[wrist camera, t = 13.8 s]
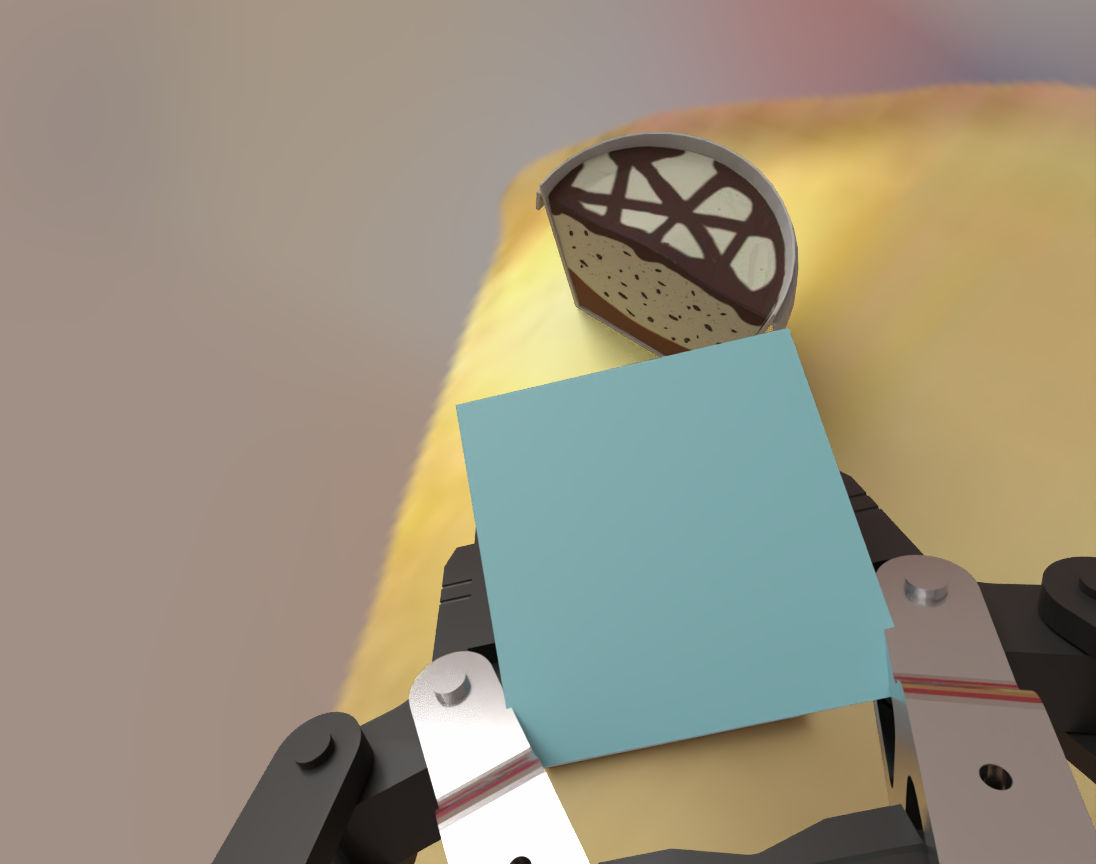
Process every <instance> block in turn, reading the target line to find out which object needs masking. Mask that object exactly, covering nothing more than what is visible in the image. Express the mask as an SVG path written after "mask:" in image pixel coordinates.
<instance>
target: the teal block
mask: <svg viewBox="0 0 1096 864" xmlns="http://www.w3.org/2000/svg"><path fill="white" fill-rule="evenodd" d="M456 410H457V416H458V422H459V428H460V434H461V440H462V446H463V452H464V458H465V464H466V470H467V476H468V482H469V488H470V494H471V500H472V506H473V512H474V518H475V524H476V530H477V536H478V542H479V548H480V554H481V560H482V566H483V572H484V578H485V584H486V590H487V596H488V602H489V608H490V614H491V620H492V626H493V632H494V638H495V644H496V650H497V656H498V662H499V668H500V674H501V680H502V686H503V692H504V698H505V704H506V709H509V708H512V709H513V711H514V714H515V716H516V718H517V720H518V722H519V724H520V726H521V728H522V730H523V732H524V735H525V737H526V739H527V741H528V743H529V745H530V747H531V749H532V751H533V753H534V755H537V757H538V758H539V760H540V762H541V764H542V766H543V767H545V766H550V765H555V764H560V763H564V762H569V761H574V760H579V759H584V758H589V757H594V756H599V755H604V754H609V753H614V752H619V751H624V750H629V749H634V748H639V747H644V746H649V745H654V744H659V743H664V742H669V741H674V740H679V739H684V738H689V737H694V736H699V735H704V734H709V733H714V732H719V731H723V730H728V729H733V728H738V727H743V726H748V725H753V724H758V723H763V722H768V721H773V720H778V719H783V718H788V717H793V716H798V715H803V714H808V713H813V712H818V711H823V710H828V709H833V708H838V707H843V706H848V705H853V704H858V703H863V702H868V701H873V700H877V699H882V698H887V697H891V693H890V687H889V678H888V667H887V657H886V646H885V635H884V629H887V628H892V627H894V624H893V621H892V618H891V616H890V613H889V610H888V607H887V604H886V601H885V599H884V596H883V593H882V590H881V587H880V585H879V582H878V579H877V576H876V573H875V570H874V568H873V565H872V562H871V559H870V556H869V553H868V551H867V548H866V545H865V542H864V539H863V537H862V534H861V531H860V528H859V525H858V522H857V520H856V517H855V514H854V511H853V508H852V506H851V503H850V500H849V497H848V494H847V491H846V489H845V486H844V483H843V480H842V477H841V474H840V472H839V469H838V466H837V463H836V460H835V458H834V455H833V452H832V449H831V446H830V443H829V441H828V438H827V435H826V432H825V429H824V427H823V424H822V421H821V418H820V415H819V412H818V410H817V407H816V404H815V401H814V398H813V395H812V393H811V390H810V387H809V384H808V381H807V379H806V376H805V373H804V370H803V367H802V364H801V362H800V359H799V356H798V353H797V350H796V347H795V345H794V342H793V339H792V336H791V333H790V331H789V328H786V329H781V330H777V331H773V332H768V333H764V334H760V335H756V336H751V337H747V338H743V339H738V340H734V341H730V342H725V343H721V344H717V345H713V346H708V347H704V348H700V349H695V350H691V351H687V352H682V353H678V354H674V355H670V356H665V357H661V358H657V359H652V360H648V361H644V362H639V363H635V364H631V365H627V366H622V367H618V368H614V369H609V370H605V371H601V372H596V373H592V374H588V375H584V376H579V377H575V378H571V379H566V380H562V381H558V382H553V383H549V384H545V385H540V386H536V387H532V388H528V389H523V390H519V391H515V392H510V393H506V394H502V395H497V396H493V397H489V398H485V399H480V400H476V401H472V402H467V403H463V404H459V405H456Z"/></svg>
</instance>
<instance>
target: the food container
mask: <svg viewBox="0 0 1096 864" xmlns="http://www.w3.org/2000/svg"><path fill="white" fill-rule="evenodd" d="M544 205H545V208H546V212H547V215H548V218H549V221H550V225H551V228H552V231H553V234H554V238H555V241H556V244H557V247H558V251H559V254H560V257H561V260H562V263H563V267H564V270H565V273H566V276H567V280H568V283H569V286H570V289H571V293H572V296H573V299H574V302H575V306H576V307H578V308H579V309H581V310H583V311H584V312H586V313H588V314H589V315H591V316H593V317H594V318H596V319H597V320H599V321H601V322H602V323H604V324H606V325H607V326H609V327H611V328H612V329H614V330H616V331H617V332H619V333H621V334H622V335H624V336H626V337H627V338H629V339H631V340H632V341H634V342H636V343H637V344H639V345H641V346H642V347H644V348H646V349H647V350H649V351H651V352H652V353H654V354H656V355H657V356H659V357H660V358H661V357H665V356H670V355H674V354H678V353H682V352H687V351H691V350H695V349H700V348H704V347H708V346H713V345H717V344H721V343H725V342H730V341H734V340H738V339H743V338H747V337H751V336H756V335H760V334H764V332H765V331H766V330H767V329H768V327H769V326H770V325H772V326H773V331H777V330H781V329H785V327H786V325H787V323H788V320H789V317H790V314H791V311H792V308H793V305H794V299H795V292H796V286H797V276H798V246H797V241H796V237H795V232H794V227H793V225H792V222H791V219H790V217H789V214H788V212H787V210H786V207H785V205H784V202H783V200H782V199H781V197H780V196H779V194H778V192H777V191H776V189H775V188H774V186H773V185H772V183H771V182H770V181H769V180H768V179H767V178H766V177H765V176H764V175H763V174H762V172H761V171H760V170H759V169H758V168H756V167H755V166H754V165H753V164H751V163H750V162H749V161H748V160H746V159H745V158H744V157H742V156H741V155H739V154H737V153H735V152H734V151H732V150H730V149H728V148H727V147H725V146H722V145H720V144H717V143H715V142H712V141H710V140H707V139H704V138H700V137H696V136H692V135H688V134H681V133H672V132H642V133H635V134H629V135H623V136H619V137H616V138H612V139H609V140H605V141H602V142H600V143H598V144H595V145H593V146H591V147H588V148H586V149H584V150H582V151H581V152H579V153H577V154H576V155H574V156H572V157H570V158H569V159H567V160H566V161H565V162H563V163H562V164H561V165H560V166H558V167H557V168H556V169H555V170H553V171H552V172H551V173H550V174H549V175H548V176H547V177H546V178H545V180H544V181H543V182H542V183H541V184H540V189H539V190H538V191H537V197H536V209H537V210H540V209H541V208H542V207H543V206H544Z"/></svg>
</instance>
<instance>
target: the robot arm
mask: <svg viewBox="0 0 1096 864" xmlns="http://www.w3.org/2000/svg"><path fill="white" fill-rule="evenodd" d="M839 472H840V471H839ZM840 474H841V477H842V480H843V483H844V486H845V489H846V491H847V494H848V497H849V500H850V503H851V506H852V508H853V511H854V514H855V517H856V520H857V522H858V525H859V528H860V531H861V534H862V537H863V539H864V542H865V545H866V548H867V551H868V553H869V556H870V559H871V562H872V565H873V568H874V570H875V573H876V576H877V579H878V582H879V585H880V587H881V590H882V593H883V596H884V599H885V601H886V604H887V607H888V610H889V613H890V616H891V618H892V621H893V624H894V627H892V628H887V629H884V635H885V646H886V657H887V667H888V678H889V687H890V693H891V697H887V698H882V699H877V700H873V703H874V709H875V716H876V722H877V728H878V735H879V741H880V747H881V754H882V760H883V766H884V772H885V779H886V785H887V791H888V798H889V805H890V806H888V807H883V808H877V809H872V810H867V811H862V812H857V813H852V814H847V815H842V816H836V817H831V818H826V819H824V820H822V821H820V822H818V823H816V824H814V825H812V826H810V827H809V828H807V829H805V830H803V831H801V832H799V833H797V834H795V835H793V836H791V837H790V838H788V839H786V840H784V841H782V842H780V843H778V844H776V845H774V846H772V847H770V848H769V849H767V850H765V851H763V852H760V853H758V854H753V855H742V854H730V853H718V852H705V851H693V850H681V849H667V850H662V851H657V852H652V853H647V854H641V855H636V856H631V857H626V858H621V859H616V860H611V861H606V862H600V863H598V864H1096V830H1095V828H1094V825H1093V823H1092V821H1091V818H1090V816H1089V813H1088V811H1087V808H1086V806H1085V804H1084V801H1083V799H1082V796H1081V794H1080V792H1079V789H1078V787H1077V784H1076V782H1075V779H1074V777H1073V775H1072V772H1071V770H1070V767H1069V765H1068V762H1067V760H1068V761H1069V762H1070V763H1071V764H1073V765H1074V766H1075V767H1076V768H1077V769H1079V770H1080V771H1081V772H1082V773H1083V774H1085V775H1086V776H1087V777H1088V778H1089V779H1090V780H1092V781H1093V782H1094V783H1095V784H1096V557H1071V558H1066V559H1062V560H1059V561H1056V562H1054V563H1052V564H1051V565H1049V566H1048V567H1047V568H1046V570H1045V571H1044V573H1043V578H1042V584H1041V585H1024V584H992V583H982V582H976V580H975V579H974V578H973V577H972V575H971V574H969V573H968V572H967V571H966V570H964V569H963V568H961V567H960V566H958V565H956V564H954V563H952V562H950V561H947V560H944V559H941V558H937V557H932V556H926V555H923V554H922V553H921V552H920V550H919V549H918V548H917V547H916V546H915V545H914V544H913V543H912V542H911V541H910V540H909V539H908V538H907V536H906V535H905V534H904V533H903V532H902V531H901V530H900V529H899V528H898V527H897V526H896V525H895V523H894V522H893V521H892V520H891V519H890V518H889V517H888V516H887V515H886V514H885V513H884V512H883V511H882V509H879V508H878V505H877V504H876V503H875V502H874V501H873V500H872V499H871V498H870V497H869V496H867V495H866V492H865V491H864V490H863V489H862V488H861V487H860V486H859V485H858V484H857V482H856V481H855V480H854V479H853V478H852V477H851V476H849V475H847V474H845V473H842V472H840ZM442 587H443V589H442V590H441V598H440V602H441V605H440V606H439V613H438V621H437V628H436V636H435V643H434V651H433V659H432V663H431V664H429V665H428V666H427V667H426V668H425V669H423V670H422V672H421V673H420V674H419V675H418V676H417V678H416V680H415V681H414V683H413V685H412V687H411V690H410V694H409V699H408V700H407V701H406V702H404V703H403V704H401V705H400V706H398V707H397V708H395V709H393V710H391V711H389V712H387V713H385V714H383V715H381V716H379V717H377V718H375V719H373V720H371V721H369V722H367V723H365V724H363V725H361V726H359V724H358V722H357V720H356V719H355V718H354V717H352V716H351V715H349V714H346V713H342V712H330V713H326V714H322V715H319V716H317V717H315V718H312V719H310V720H308V721H307V722H305V723H304V724H302V725H300V726H299V727H298V728H297V729H295V730H294V731H293V732H292V733H291V734H290V735H289V736H288V737H287V738H286V739H285V740H284V742H283V743H282V744H281V746H280V747H279V749H278V750H277V752H276V753H275V755H274V757H273V759H272V760H271V762H270V764H269V765H268V767H267V769H266V771H265V772H264V774H263V776H262V777H261V779H260V781H259V783H258V784H257V786H256V788H255V790H254V791H253V793H252V795H251V797H250V798H249V800H248V802H247V803H246V805H245V807H244V809H243V810H242V812H241V814H240V816H239V817H238V819H237V821H236V823H235V824H234V826H233V828H232V830H231V831H230V833H229V835H228V836H227V838H226V840H225V841H224V843H223V845H222V847H221V848H220V850H219V852H218V854H217V855H216V857H215V859H214V861H213V862H212V864H414V863H415V860H416V857H417V853H418V852H419V851H421V850H423V849H424V848H426V847H428V846H430V845H432V844H433V843H435V842H437V841H439V840H440V839H442V842H443V845H444V849H445V853H446V856H447V860H448V863H449V864H590V863H589V861H588V859H587V857H586V855H585V853H584V851H583V849H582V847H581V845H580V842H579V840H578V838H577V836H576V834H575V832H574V830H573V828H572V826H571V824H570V822H569V820H568V818H567V816H566V813H565V811H564V809H563V807H562V805H561V803H560V801H559V799H558V797H557V795H556V793H555V791H554V789H553V786H552V784H551V782H550V780H549V778H548V776H547V774H546V772H545V770H544V768H543V766H542V764H541V762H540V760H539V758H538V757H537V755H534V753H533V751H532V749H531V747H530V745H529V743H528V741H527V739H526V737H525V735H524V732H523V730H522V728H521V726H520V724H519V722H518V720H517V718H516V716H515V714H514V711H513V709H512V708H509V709H506V704H505V698H504V692H503V686H502V680H501V674H500V668H499V662H498V656H497V650H496V644H495V638H494V632H493V626H492V620H491V614H490V608H489V602H488V596H487V590H486V584H485V578H484V572H483V566H482V560H481V554H480V548H479V542H478V536H477V530H476V533H475V544H471V545H467V546H462V547H458V548H456V550H455V551H454V553H453V554H452V556H451V557H450V559H449V560H448V562H447V564H446V565H445V568H444V575H443V583H442ZM1066 759H1067V760H1066Z"/></svg>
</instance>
